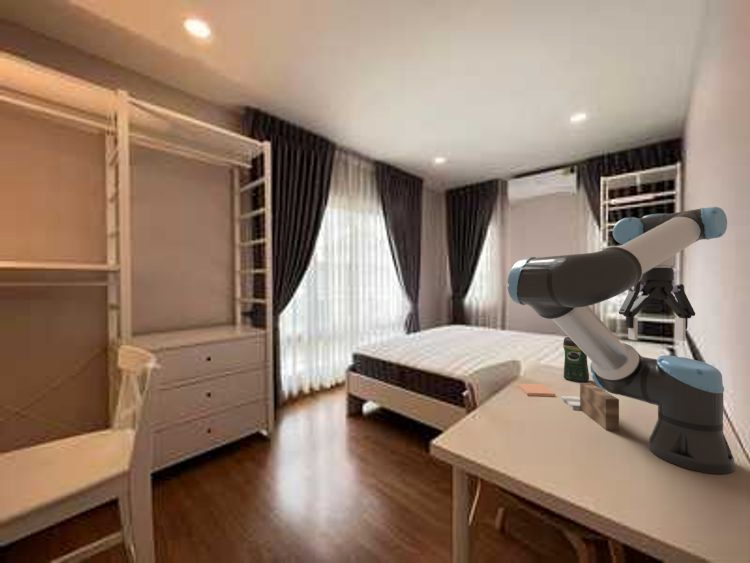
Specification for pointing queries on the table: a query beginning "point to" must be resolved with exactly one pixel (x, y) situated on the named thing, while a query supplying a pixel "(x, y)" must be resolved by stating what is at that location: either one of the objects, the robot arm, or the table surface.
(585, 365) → the coffee jar
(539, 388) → the tile
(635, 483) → the table surface
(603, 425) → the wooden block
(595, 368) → the robot arm
